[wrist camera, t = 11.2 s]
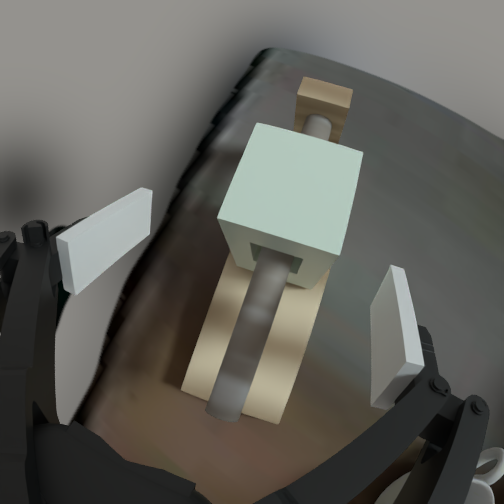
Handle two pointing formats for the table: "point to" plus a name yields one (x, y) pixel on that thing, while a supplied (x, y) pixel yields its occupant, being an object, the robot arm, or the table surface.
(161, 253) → the table surface
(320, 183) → the sleeve
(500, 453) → the teacup
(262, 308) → the lead screw slider
